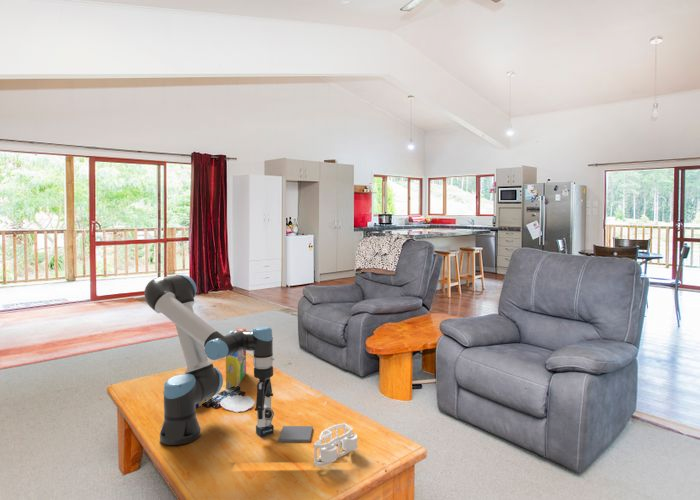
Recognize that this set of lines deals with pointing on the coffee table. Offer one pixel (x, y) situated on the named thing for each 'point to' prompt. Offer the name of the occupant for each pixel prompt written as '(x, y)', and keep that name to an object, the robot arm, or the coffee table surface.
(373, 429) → the coffee table surface
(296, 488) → the coffee table surface
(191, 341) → the robot arm
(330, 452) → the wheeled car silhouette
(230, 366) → the game box
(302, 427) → the mat
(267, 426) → the watch
